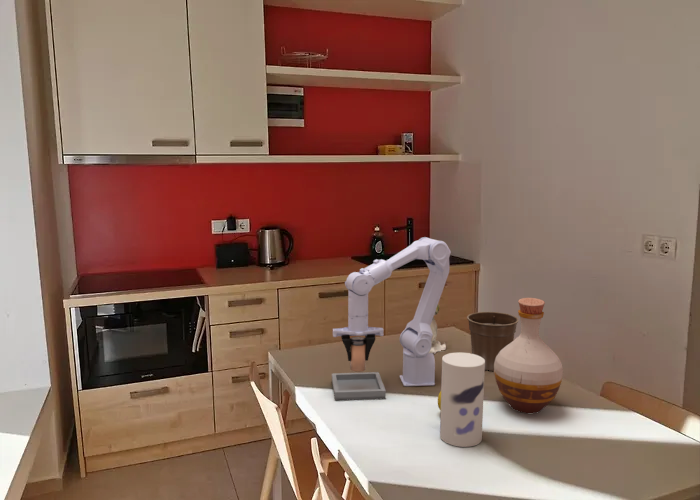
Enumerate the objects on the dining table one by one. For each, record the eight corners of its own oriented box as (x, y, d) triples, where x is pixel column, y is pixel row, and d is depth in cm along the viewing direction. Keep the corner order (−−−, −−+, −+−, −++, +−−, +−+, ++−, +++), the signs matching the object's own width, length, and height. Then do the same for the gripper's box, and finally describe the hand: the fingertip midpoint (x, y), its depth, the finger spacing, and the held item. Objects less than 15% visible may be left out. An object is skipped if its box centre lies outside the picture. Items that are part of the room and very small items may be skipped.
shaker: (364, 365, 167) (364, 336, 166) (366, 371, 162) (367, 341, 161) (349, 366, 166) (349, 336, 165) (351, 372, 162) (351, 341, 160)
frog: (403, 348, 203) (404, 299, 200) (425, 341, 212) (426, 293, 209) (429, 356, 195) (430, 305, 192) (450, 348, 204) (452, 298, 201)
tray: (378, 379, 174) (378, 372, 173) (385, 399, 160) (385, 390, 159) (331, 381, 172) (331, 373, 172) (334, 400, 158) (334, 392, 158)
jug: (495, 388, 167) (500, 289, 163) (560, 396, 161) (566, 294, 157) (489, 416, 149) (493, 305, 144) (561, 426, 143) (568, 311, 139)
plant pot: (460, 369, 183) (462, 321, 180) (470, 354, 197) (472, 309, 195) (512, 377, 176) (515, 327, 174) (518, 360, 191) (521, 314, 189)
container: (457, 451, 131) (459, 368, 128) (431, 433, 140) (433, 355, 136) (490, 441, 135) (493, 361, 132) (463, 424, 144) (466, 349, 141)
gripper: (333, 318, 157) (333, 365, 160) (385, 317, 159) (384, 363, 161) (332, 312, 164) (332, 356, 166) (381, 311, 166) (381, 355, 168)
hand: (357, 359), depth 164 cm, fingers closed on shaker, 4 cm apart
